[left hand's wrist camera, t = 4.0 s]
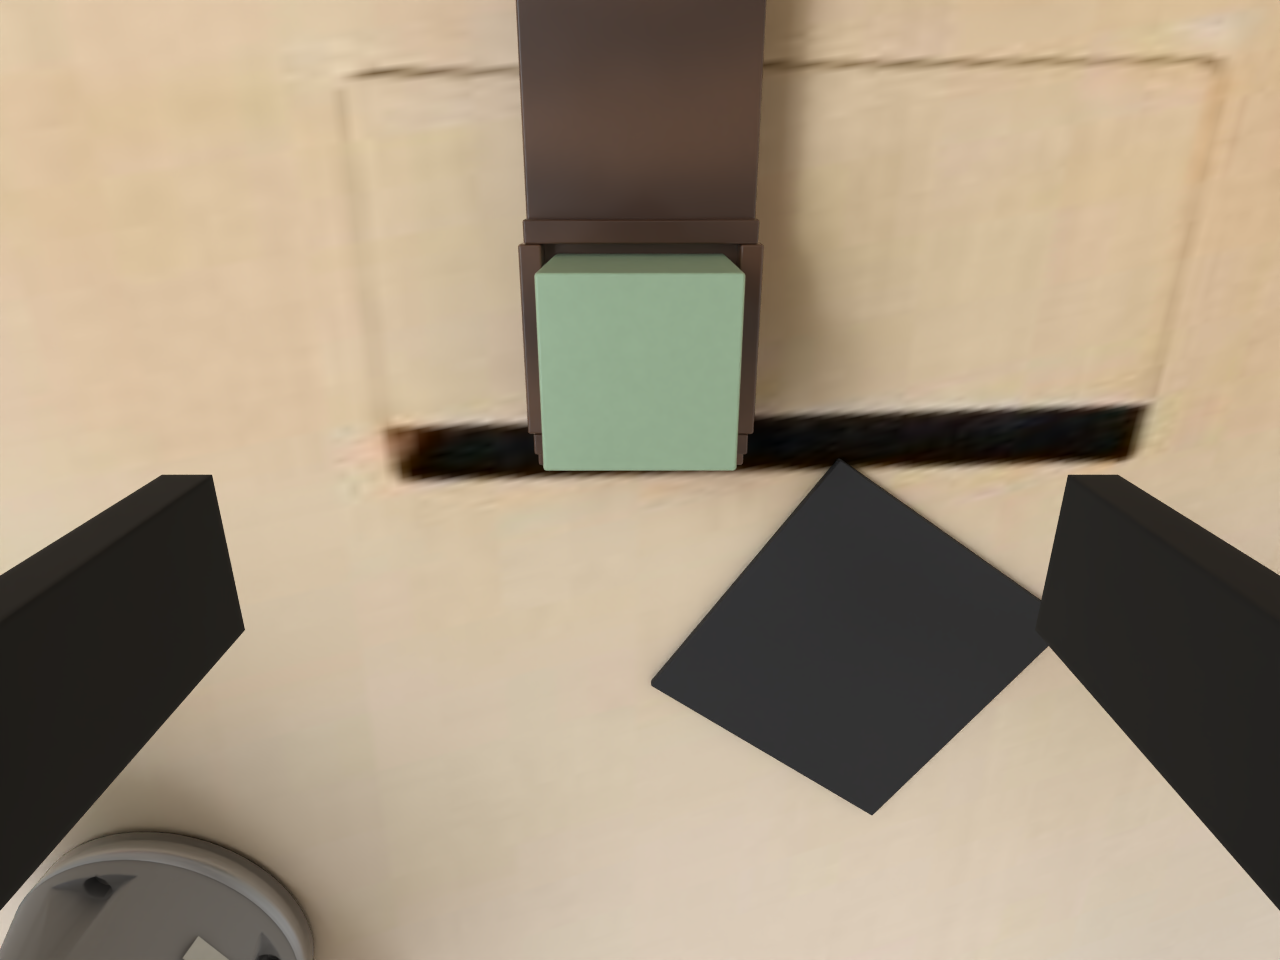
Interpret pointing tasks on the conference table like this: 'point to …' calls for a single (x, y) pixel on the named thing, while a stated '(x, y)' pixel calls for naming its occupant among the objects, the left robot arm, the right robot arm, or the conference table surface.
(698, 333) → the green block
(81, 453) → the conference table surface
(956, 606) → the rubber mat
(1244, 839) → the left robot arm
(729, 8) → the walnut board
